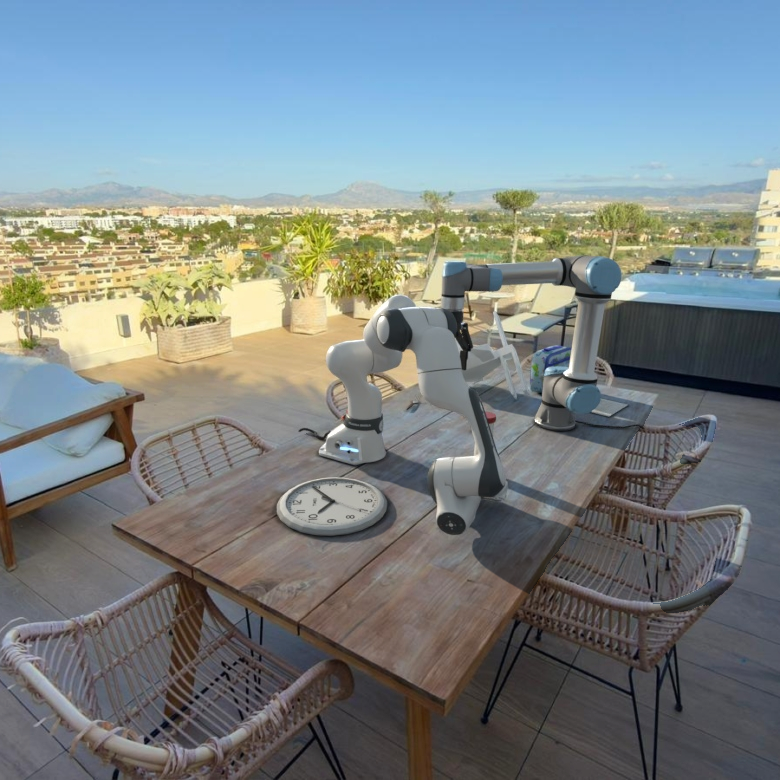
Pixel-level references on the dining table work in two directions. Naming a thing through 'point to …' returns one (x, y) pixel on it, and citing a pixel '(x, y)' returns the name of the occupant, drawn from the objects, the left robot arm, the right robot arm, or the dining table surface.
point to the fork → (413, 402)
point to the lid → (491, 417)
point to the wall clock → (331, 506)
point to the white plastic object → (493, 361)
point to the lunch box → (547, 364)
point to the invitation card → (608, 407)
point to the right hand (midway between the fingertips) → (448, 372)
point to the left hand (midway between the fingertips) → (474, 472)
